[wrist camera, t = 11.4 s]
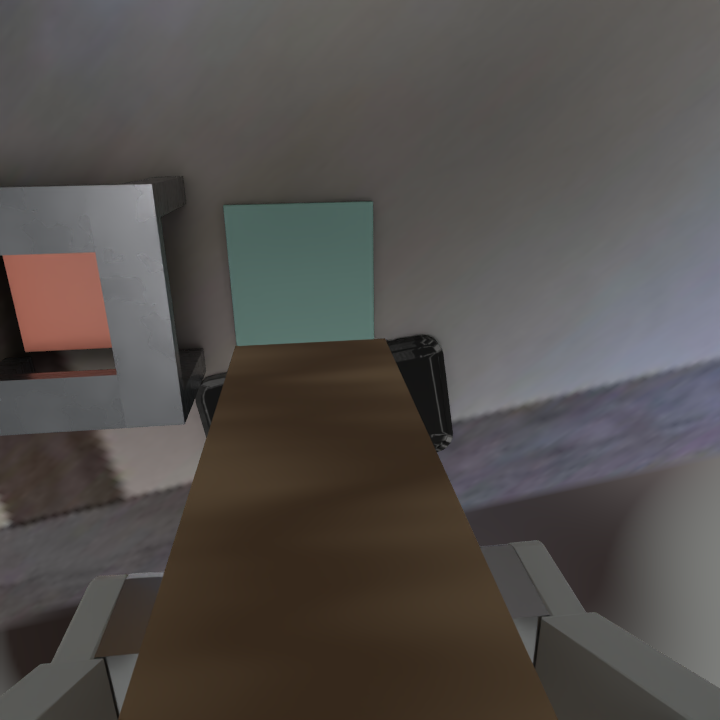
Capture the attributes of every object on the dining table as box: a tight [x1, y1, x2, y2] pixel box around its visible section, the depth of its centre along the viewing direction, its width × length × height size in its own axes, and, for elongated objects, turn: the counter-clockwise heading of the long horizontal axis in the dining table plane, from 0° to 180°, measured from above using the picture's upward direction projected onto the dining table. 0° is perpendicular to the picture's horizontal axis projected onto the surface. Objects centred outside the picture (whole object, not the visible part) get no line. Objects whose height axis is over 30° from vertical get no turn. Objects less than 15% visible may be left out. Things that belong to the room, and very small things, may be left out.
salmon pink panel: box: [3, 252, 112, 352], centre depth 29 cm, size 5×5×2 cm
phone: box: [195, 335, 453, 452], centre depth 35 cm, size 8×1×15 cm
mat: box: [223, 201, 374, 346], centre depth 32 cm, size 8×8×1 cm
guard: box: [0, 176, 206, 435], centre depth 28 cm, size 11×11×7 cm
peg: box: [118, 339, 558, 720], centre depth 9 cm, size 4×4×14 cm
